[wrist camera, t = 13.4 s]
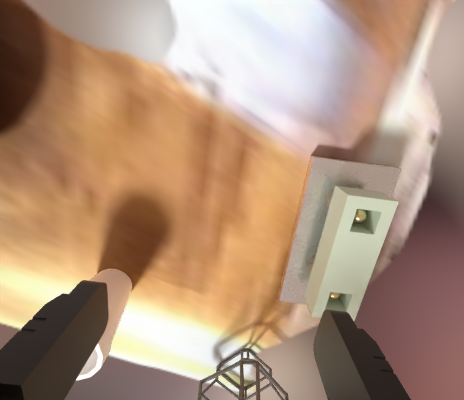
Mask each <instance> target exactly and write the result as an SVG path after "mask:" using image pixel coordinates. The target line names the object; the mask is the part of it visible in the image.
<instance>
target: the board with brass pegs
mask: <svg viewBox="0 0 464 400" xmlns="http://www.w3.org/2000/svg"><path fill="white" fill-rule="evenodd" d="M400 171H401V169H399V168H396V167H392V166H385V165H377V164H370V163H363V162H356V161H349V160H341V159H334V158H327V157H320V156H313V155H311V157H310V161H309V165H308V170H307V174H306V178H305V182H304V187H303V191H302V195H301V199H300V203H299V208H298V212H297V216H296V220H295V224H294V229H293V233H292V237H291V241H290V245H289V250H288V254H287V258H286V262H285V266H284V271H283V275H282V279H281V283H280V288H279V292H278V298H279V301H283V302H292V303H300V304H307V303H306V300H305V298H304V296H305V292H306V289H307V285H308V282H309V278H310V275H311V271H312V267H313V264H314V260H315V257H316V253H317V249H318V246H319V242H320V239H321V235H322V231H323V228H324V224H325V221H326V217H327V214H328V210H329V206H330V203H331V199H332V196H333V192H334V188H335V186H342V187H350V188H357V189H365V190H372V191H380V192H382V193H384V194H386V195H387V196H389V197H391V196H392V193H393V191H394V188H395V185H396V182H397V180H398V177H399V174H400ZM366 217H367V215H366V212H365V211H364V210H363V209H357V210H356V214H355V217H354V220H353V221H354V222H357V223H361V222H363V221H365V219H366ZM339 297H340V293H336V292H330V295H329V298H331V299H338V298H339Z"/></svg>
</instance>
